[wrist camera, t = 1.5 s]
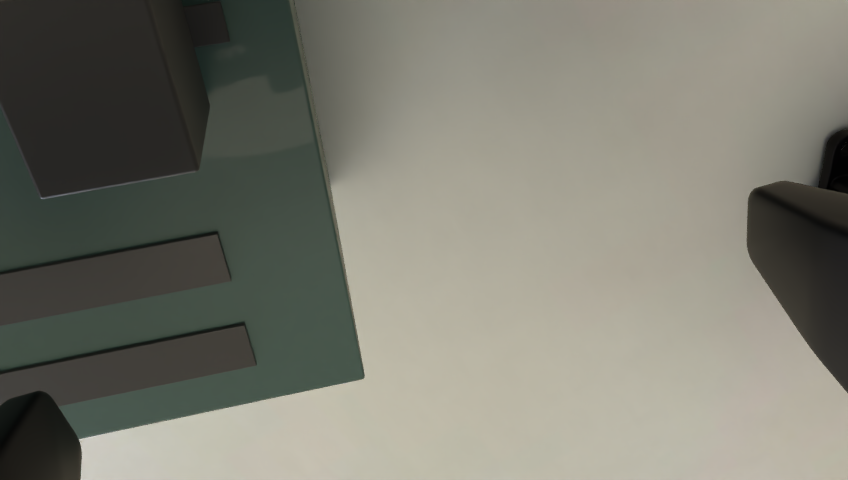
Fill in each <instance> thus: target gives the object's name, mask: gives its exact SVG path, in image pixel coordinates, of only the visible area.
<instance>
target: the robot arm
mask: <svg viewBox="0 0 848 480" xmlns="http://www.w3.org/2000/svg"><path fill="white" fill-rule="evenodd" d="M846 142H847V143H846ZM845 143H846V145H845V147H844V148H843V149H841V147H842V146H843V145H844V144H845ZM747 248H748V253H749V256H750V258H751V260H752V262H753V264H754V265H755V267H756V268H757V270H758V271H759V273H760V274H761V276H762V277H763V279H764V280H765V282H766V283H767V284H768V286H769V287H770V289H771V290H772V292H773V293H774V295H775V296H776V298H777V299H778V301H779V302H780V304H781V305H782V307H783V308H784V310H785V311H786V313H787V314H788V316H789V317H790V319H791V320H792V322H793V323H794V325H795V326H796V328H797V329H798V331H799V332H800V334H801V335H802V337H803V338H804V339H805V341H806V342H807V344H808V345H809V346H810V348H811V349H812V351H813V352H814V353H815V354H816V356H817V357H818V358H819V359H820V361H821V362H822V363H823V364H824V366H825V367H826V368H827V369H828V370H829V371H830V373H831V374H832V375H833V376H834V377H835V379H836V380H837V381H838V382H839V383H840V384H841V386H842V387H843V388H844V389H845V390H846V391H847V393H848V129H846V130H841V131H839V132H837V133H835V134H834V135H833V136H832V137H831V138H830V139H829V141H828V143H827V146H826V151H825V156H824V161H823V166H822V172H821V177H820V182H819V187H818V188H817V187H812V186H808V185H803V184H798V183H794V182H789V181H779V182H775V183H772V184H768V185H765V186H761V187H758V188H755V189H754V190H753V191H752V192H751V193H750V195H749V198H748V216H747ZM81 459H82V452H81V446H80V442H79V439H78V437H77V435H76V433H75V432H74V430H73V428H72V427H71V425H70V424H69V422H68V421H67V419H66V418H65V416H64V415H63V413H62V412H61V410H60V409H59V407H58V406H57V404H56V403H55V401H54V400H53V398H52V397H51V396H50V395H49V394H48V393H46V392H43V391H35V392H32V393H28V394H25V395H21V396H17V397H14V398H11V399H9V400H7V401H6V402H4V403H3V404H2V405H1V406H0V480H80V479H81Z"/></svg>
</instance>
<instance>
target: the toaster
mask: <svg viewBox="0 0 848 480" xmlns="http://www.w3.org/2000/svg"><path fill="white" fill-rule="evenodd" d="M181 1H182V5H183V9H184V12H185V16H186V20H187V23H188V27H189V30H190V34H191V38H192V41H193V45H194V49H195V52H196V56H197V60H198V63H199V67H200V70H201V74H202V78H203V81H204V85H205V89H206V92H207V96H208V100H209V103H210V110H209V116H208V121H207V127H206V133H205V139H204V145H203V151H202V157H201V162H200V168H199V171H197V172H194V173H188V174H183V175H177V176H171V177H166V178H160V179H155V180H149V181H143V182H138V183H132V184H127V185H121V186H115V187H110V188H104V189H98V190H93V191H87V192H82V193H76V194H70V195H65V196H59V197H53V198H48V199H41V198H40V197H39V196H38V193H37V191H36V189H35V186H34V184H33V182H32V179H31V177H30V175H29V172H28V170H27V168H26V165H25V163H24V161H23V159H22V156H21V154H20V152H19V149H18V147H17V145H16V142H15V140H14V138H13V135H12V133H11V131H10V128H9V126H8V124H7V121H6V119H5V117H4V115H3V112H2V110H1V108H0V406H1V405H2V404H3V403H4V402H6V401H7V400H9V399H11V398H14V397H17V396H21V395H25V394H28V393H32V392H35V391H43V392H46V393H48V394H49V395H50V396H51V397H52V398H53V400H54V401H55V403H56V404H57V406H58V407H59V409H60V410H61V412H62V413H63V415H64V416H65V418H66V419H67V421H68V422H69V424H70V425H71V427H72V428H73V430H74V432H75V433H76V435H77V437H78V439H82V438H86V437H91V436H96V435H101V434H105V433H110V432H115V431H119V430H124V429H129V428H134V427H138V426H143V425H148V424H153V423H157V422H162V421H167V420H172V419H176V418H181V417H186V416H190V415H195V414H200V413H205V412H209V411H214V410H219V409H224V408H228V407H233V406H238V405H243V404H247V403H252V402H257V401H261V400H266V399H271V398H276V397H280V396H285V395H290V394H295V393H299V392H304V391H309V390H313V389H318V388H323V387H328V386H332V385H337V384H342V383H347V382H351V381H356V380H361V379H364V377H365V375H364V369H363V363H362V358H361V352H360V347H359V341H358V336H357V330H356V325H355V319H354V314H353V308H352V303H351V297H350V292H349V286H348V281H347V275H346V269H345V264H344V258H343V253H342V247H341V242H340V236H339V231H338V225H337V220H336V214H335V209H334V203H333V198H332V192H331V187H330V181H329V176H328V171H327V166H326V161H325V156H324V151H323V146H322V141H321V136H320V131H319V126H318V121H317V116H316V110H315V105H314V100H313V95H312V90H311V85H310V80H309V75H308V70H307V65H306V60H305V55H304V50H303V45H302V39H301V34H300V29H299V24H298V19H297V14H296V9H295V4H294V0H181Z"/></svg>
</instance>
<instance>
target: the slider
mask: <svg viewBox="0 0 848 480" xmlns="http://www.w3.org/2000/svg"><path fill="white" fill-rule="evenodd" d="M0 108H1V110H2V112H3V115H4V117H5V119H6V121H7V124H8V126H9V128H10V131H11V133H12V135H13V138H14V140H15V142H16V145H17V147H18V149H19V152H20V154H21V156H22V159H23V161H24V163H25V165H26V168H27V170H28V172H29V175H30V177H31V179H32V182H33V184H34V186H35V189H36V191H37V193H38V196H39V197H40V198H41V199H48V198H53V197H59V196H65V195H70V194H76V193H82V192H87V191H93V190H98V189H104V188H110V187H115V186H121V185H127V184H132V183H138V182H143V181H149V180H155V179H160V178H166V177H171V176H177V175H183V174H188V173H194V172H197V171H199V168H200V162H201V157H202V151H203V145H204V139H205V133H206V127H207V121H208V116H209V110H210V103H209V100H208V96H207V92H206V89H205V85H204V81H203V78H202V74H201V70H200V67H199V63H198V60H197V56H196V52H195V49H194V45H193V41H192V38H191V34H190V30H189V27H188V23H187V20H186V16H185V12H184V9H183V5H182V1H181V0H0Z"/></svg>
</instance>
